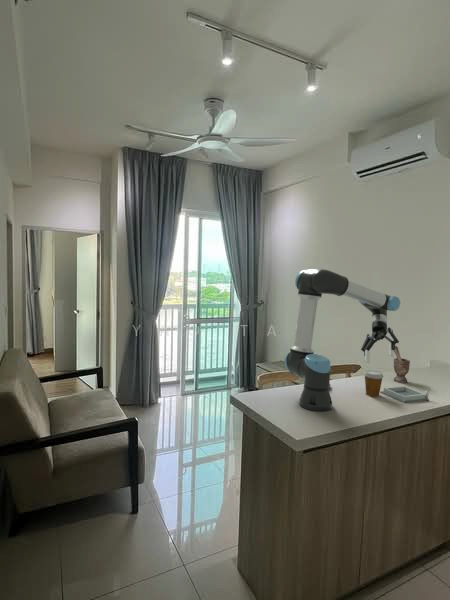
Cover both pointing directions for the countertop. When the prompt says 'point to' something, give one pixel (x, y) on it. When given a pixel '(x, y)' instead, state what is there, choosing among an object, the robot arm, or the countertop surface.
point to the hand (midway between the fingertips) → (379, 359)
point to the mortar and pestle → (400, 367)
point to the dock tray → (405, 394)
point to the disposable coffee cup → (373, 382)
